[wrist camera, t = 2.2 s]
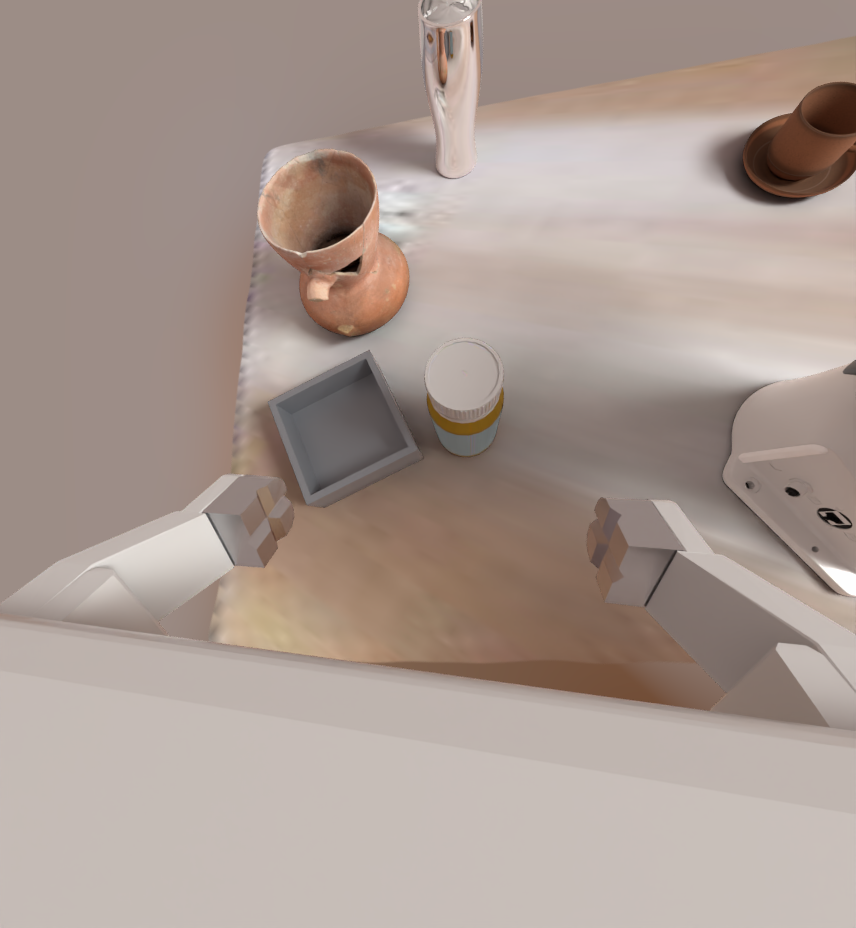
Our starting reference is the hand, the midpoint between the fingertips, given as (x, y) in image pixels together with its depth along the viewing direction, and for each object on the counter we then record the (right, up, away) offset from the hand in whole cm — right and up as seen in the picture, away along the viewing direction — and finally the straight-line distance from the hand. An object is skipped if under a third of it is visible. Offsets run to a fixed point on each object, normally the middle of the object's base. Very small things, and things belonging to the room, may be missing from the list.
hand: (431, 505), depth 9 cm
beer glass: (+4, +45, +39) cm, 60 cm away
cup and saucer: (+45, +38, +33) cm, 68 cm away
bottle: (+5, +5, +32) cm, 32 cm away
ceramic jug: (-9, +25, +37) cm, 46 cm away
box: (-10, +5, +33) cm, 35 cm away
